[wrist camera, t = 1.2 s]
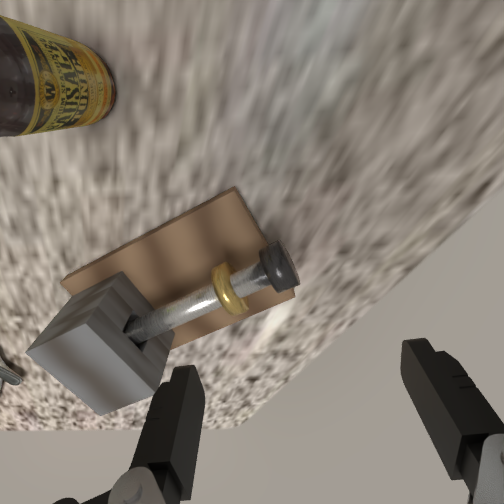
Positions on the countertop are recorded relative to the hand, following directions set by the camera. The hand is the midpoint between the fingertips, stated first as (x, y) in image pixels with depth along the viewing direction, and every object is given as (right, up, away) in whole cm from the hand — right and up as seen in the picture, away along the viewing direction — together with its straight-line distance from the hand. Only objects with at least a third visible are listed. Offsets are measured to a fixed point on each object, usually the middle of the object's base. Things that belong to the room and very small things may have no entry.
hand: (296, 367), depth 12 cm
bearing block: (-10, +1, +24) cm, 26 cm away
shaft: (-7, +1, +20) cm, 22 cm away
